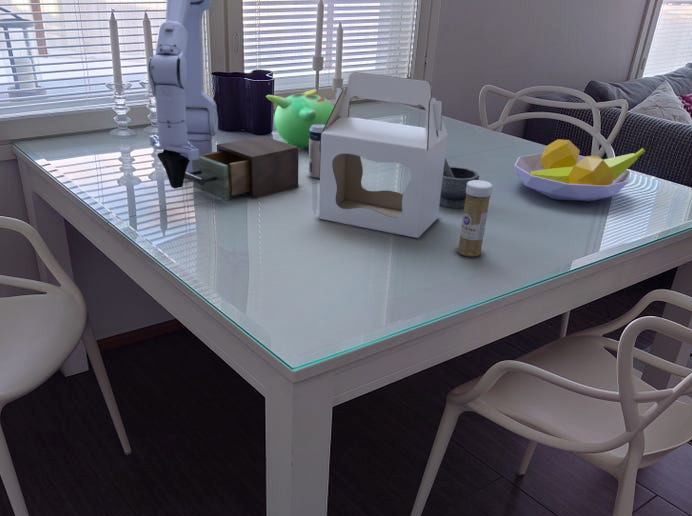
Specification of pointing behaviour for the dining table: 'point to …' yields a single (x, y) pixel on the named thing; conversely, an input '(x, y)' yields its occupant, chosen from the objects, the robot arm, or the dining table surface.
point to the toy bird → (299, 115)
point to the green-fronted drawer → (221, 174)
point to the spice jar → (315, 149)
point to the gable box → (382, 158)
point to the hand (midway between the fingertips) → (177, 187)
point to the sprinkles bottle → (474, 217)
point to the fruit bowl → (574, 172)
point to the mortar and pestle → (455, 185)
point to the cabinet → (267, 163)
